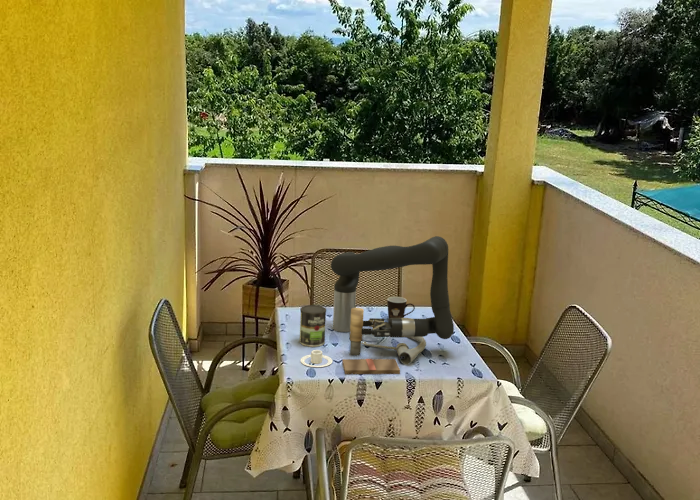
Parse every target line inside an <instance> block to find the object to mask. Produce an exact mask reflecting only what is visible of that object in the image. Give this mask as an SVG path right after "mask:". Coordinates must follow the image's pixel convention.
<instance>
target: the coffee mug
mask: <svg viewBox="0 0 700 500" xmlns="http://www.w3.org/2000/svg"><path fill="white" fill-rule="evenodd" d="M386 301H387V315H388V317H387V318H388V321H389V319H390V318H406V316H408V315H410V314H411V313H413V312H414V311H415V309H416V306H415V305H414V303H407V302H408V301H407V299H406V298H405V297H402V296H390V297H388V298H387V299H386ZM408 306H412V307H413V309H412V310H411V311H410V312H409V311H408V312H407V313H406V309H407V307H408ZM405 313H406V314H405Z"/></svg>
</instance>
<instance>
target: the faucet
mask: <svg viewBox="0 0 700 500" xmlns="http://www.w3.org/2000/svg"><path fill="white" fill-rule="evenodd" d="M406 338H408V339H411V340H414V341H417V342H419V344H418V345H417V346H415V347H413V348H409V345H408V344H407V343H405V342H398V343H397V344H396V346H388V345H379V344H372V343H371V344H370V343H367V341H363V342H364V343H361V345H363V346H365V347H371V348H378V349H379V348H380V349H387V350H394V351H396V353H397V356H398V358H399V361H400V362H401V363H402V364H403V365H405V366H406V365H409V364H411V363H412V362H413V361H414V360H416V358H417V357H418V356H419V354H421V353H422V352H423V351H424V350H425V348H426V346H427V341H426V339H425V337H406ZM403 357H404V358H403Z"/></svg>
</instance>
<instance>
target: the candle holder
mask: <svg viewBox="0 0 700 500" xmlns="http://www.w3.org/2000/svg"><path fill="white" fill-rule="evenodd" d="M309 358H310V362H311V363H312V364H308V363H306V362H305V361H306V360H307V359H309ZM323 359H325V360H327V363H325V364H322V363H323ZM300 363H301V364H303V365H304V366H307V367H311V368H323V367H328V366H330V365H331V364H332V363H333V358H331V357H330V356H328V355H324V354H323V351H322V350H321V349H314V350H311V352H310V354H307V355H304V356H302V357H300ZM313 364H314V365H313ZM315 364H316V365H315ZM321 364H322V365H321Z"/></svg>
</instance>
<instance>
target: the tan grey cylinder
mask: <svg viewBox="0 0 700 500" xmlns="http://www.w3.org/2000/svg"><path fill="white" fill-rule="evenodd" d="M364 313H365V310H364V309H363V308H362V307H356V308H352V309H351V323H350V332H349V341H350V346H349V347H350V348H349V355H351V356H352V357H354V356H356V357H359V356H361V349H362V348H361V347H362V344H361V342H363V334H362V333H361V332H362V328H364V327H363V321H364Z"/></svg>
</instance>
